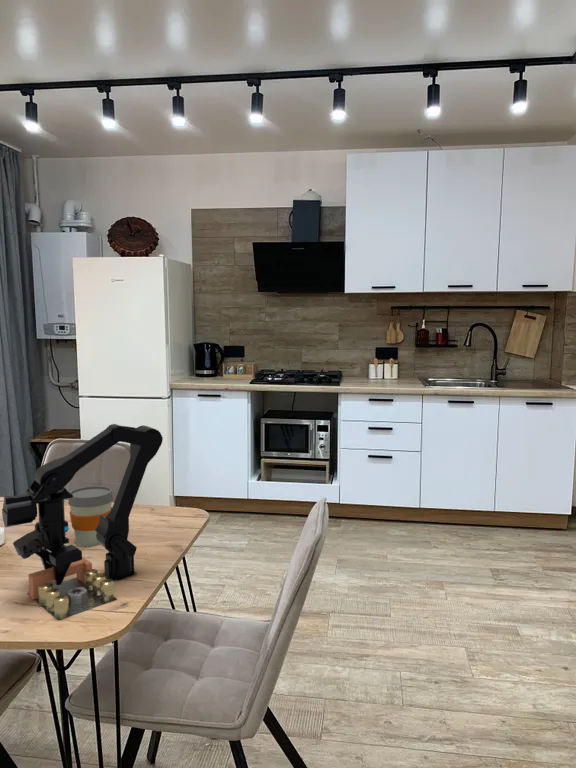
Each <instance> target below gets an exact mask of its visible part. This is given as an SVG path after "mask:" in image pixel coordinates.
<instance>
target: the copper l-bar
mask: <svg viewBox="0 0 576 768" xmlns="http://www.w3.org/2000/svg"><path fill="white" fill-rule="evenodd" d="M90 569H93V562H91V561H90V560H88V559H86V558H85V557H83V556H82V559H81V560H80V561H76V562H73V563H71V565H70V566H69V568H68V570H67V573H66V575H65V577H64V578H67V577H70V576H72V575H73V576H74V575H76V578H77V579H79V580H80V581H82V582H83V583H85V571H87V570H90ZM27 577H28V593H29V595H28V597H30V599H32V600H33V599H37V598H39V589H38V587H39V585H41V584H44V583H51V582H53V581H54V582H55V577H54V572H53V567H52V568H48V569H42V570H39V571H36V572H35V571H34V572H31V573H28V575H27Z"/></svg>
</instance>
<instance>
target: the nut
mask: <svg viewBox="0 0 576 768" xmlns="http://www.w3.org/2000/svg"><path fill="white" fill-rule="evenodd" d="M66 595H67V596H68V597H69V604H70V605H77V604H82V603H83V602H85V601H86V600H87V599H88V597H87V590H86V589H85V588H83V587H79V588H72V589H71V590H69V591H68V592H66Z"/></svg>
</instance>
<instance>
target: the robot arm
mask: <svg viewBox="0 0 576 768" xmlns="http://www.w3.org/2000/svg"><path fill="white" fill-rule="evenodd" d="M163 439H164V437H163V435H162V433H161V432H160V431H159V430H158V429H157V428H154V427H151V426H148V425H145V424H144V425H139V426H137V427H133V426H127V425H120V424H117V423H112V424H109V425H108V426H107V427H106V428H105V429H104V430H102V431H100V432H99V433H98V434H96V435H95V436H94V437H92V438H90V439H89V440H88V441H86V442H85V443H83V444H82V445H80V446H78V447H77V448H76V449H75V450H73V451H71V452H70V453H68V454H67V455H65V456H63V457H60V458H56V459H54V460H53V459H52V460H51V461H49V462H47V463H44V464H42V465H41V466H39V467H38V468H37V469H36V470H35V474H34V479H33V481H32V482H31V483H30V484H29V487H28V488H27V490H26V491H25V493H24V494H19V495H7V496H4V497H3V504H2V509H1V515H2V522H3V525H4V527H5V528H9V527H15V526H20V525H25V524H26V525H27V524H30V523H33V521H36V518H37V517H38V522H35V524H34V530H32V531H31V532H27V533H26V534H24V535H22V536H21V537H19V538H18V539H16V540H15V541H13V542H12V545H13V546H14V548H15V551H16V553H17V555H18V556H19V557H21V559H23V560H24V559H28V558H30V557H31V556H33V555H34V554H35V555H36V556H37V557H39V558H40V560H41V563H42V565H43V570H45V569H48V568H52V567H53V572H54V577H55V580H54V582H55V584H56V585H60V584H62V582H64V579H65V578H66V577H65V575H66V573H67V570H68V568H69V566H70V565H71V563H73V562H76V561H80V560H81V559H82V557H83V551H82V550H81V549H80V548H78V547H76V546H75V545H74V544H69V543H70V539H69V537H67V536H66V535H65V533H66V532H65V527H67V526H69V521H68V520H66V518H65V517H66V516H65V500H66V499H67V500H69V498H72V497H73V495H72V494H71V493H70V492H71V491H68V490H67V488H66V486H67V485H68V484H69V483H70V481H72V480H73V478H74V477H75V475H77V473H78V472H79V470H81V469H83V468H84V467H85V466H87V465H88V464H89V463H91V462H92V461H93V460H95V459H96V458H98V457H99V456H100V455H102V454H104V453H105V452H106V451H108V450H109V449H111V448H112V447H113V446H115V445H116V444H118V443H119V442H121V443H126V444H129V451H130V452H129V453H130V454H129V456H130V457H129V461H128V463H127V466H126V469H125V472H124V475H123V476H122V481H121V483H120V486H119V488H118V492H117V494H116V497H115V499H114V503H113V505H112V510H111V512H110V513H109V514H108V515H107V516H106V517H104V516H101V517H100V520H99V524H98V526H97V528H96V529H95V531H96V532H97V534H96V538H97V540H98V542H99V543H100V545H101V546H102V547H104V549H105V550H106V551H107V553H105V560H104V561H103V564H104V566H103V567H104V572H103V573H102V574H104V575H105V578H108V579H111V580H113V581H114V582H119V581H121V580H123V579H127V578H129V577H132V576H136V575H138V572H136V571H135V554H136V552H137V546H136V545H135V544H133V543H132V542H131V541H130V540H128V537H129V532H130V514H131V512H132V509H133V507H134V503H135V500H136V497H137V495H138V492H139V489H140V486H141V484H142V480H143V479H144V475H145V473H146V470H147V467H148V465H149V463H150V461H152V459H153V458H154V457H155V456H156V455H157V453H158V452H159V450H160V449H161V446H162V444H163V441H164V440H163ZM63 544H64V545H65V546H63ZM66 544H69V545H66Z"/></svg>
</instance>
